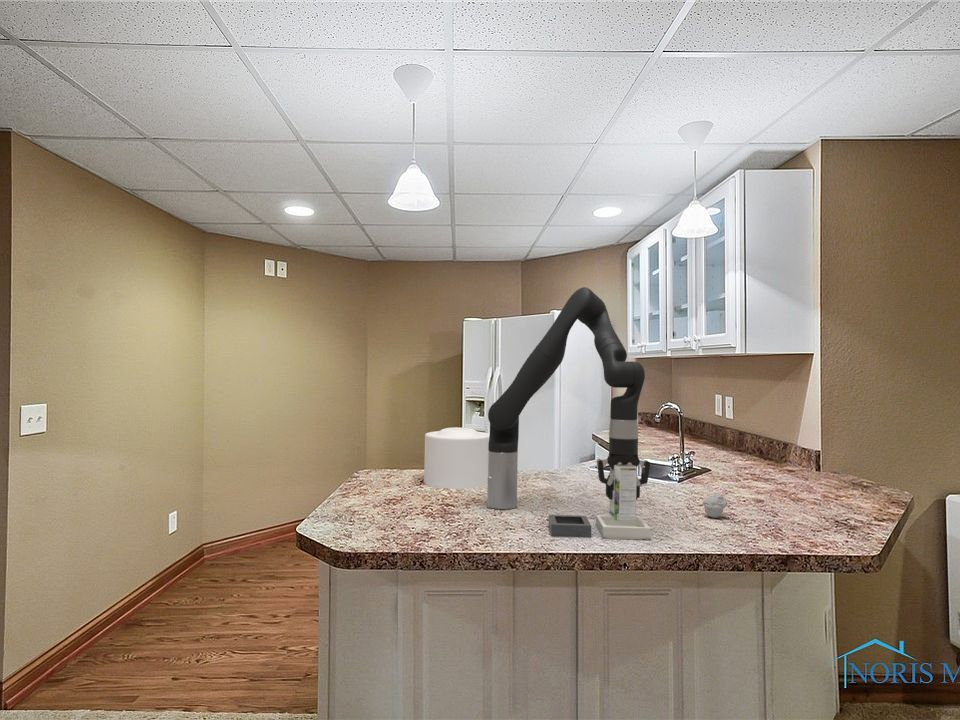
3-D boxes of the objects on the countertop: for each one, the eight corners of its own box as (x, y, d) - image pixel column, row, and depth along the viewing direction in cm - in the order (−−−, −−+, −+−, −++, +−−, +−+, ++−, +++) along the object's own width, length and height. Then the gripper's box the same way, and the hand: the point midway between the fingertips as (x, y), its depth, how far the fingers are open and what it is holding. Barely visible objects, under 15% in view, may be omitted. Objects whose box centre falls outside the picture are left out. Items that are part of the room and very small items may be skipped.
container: (430, 474, 232) (431, 424, 232) (493, 477, 229) (494, 426, 230) (417, 487, 207) (418, 431, 207) (487, 490, 204) (488, 433, 205)
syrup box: (608, 515, 157) (608, 461, 157) (629, 515, 157) (630, 461, 158) (615, 521, 151) (615, 465, 151) (637, 520, 152) (637, 465, 152)
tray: (603, 538, 148) (603, 527, 148) (595, 525, 160) (595, 515, 160) (650, 540, 148) (650, 528, 148) (639, 527, 160) (639, 516, 160)
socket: (551, 536, 150) (551, 524, 150) (548, 525, 160) (548, 514, 160) (591, 537, 149) (591, 525, 149) (585, 526, 160) (585, 515, 160)
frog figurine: (728, 521, 168) (728, 497, 168) (702, 519, 170) (703, 495, 170) (726, 516, 174) (726, 492, 174) (701, 514, 176) (701, 491, 176)
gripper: (598, 437, 151) (597, 501, 151) (654, 438, 151) (653, 503, 150) (594, 433, 159) (593, 495, 158) (647, 435, 158) (646, 496, 158)
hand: (622, 498), depth 154 cm, fingers closed on syrup box, 6 cm apart
